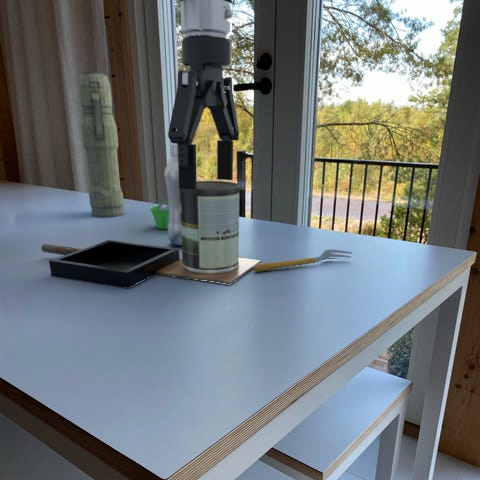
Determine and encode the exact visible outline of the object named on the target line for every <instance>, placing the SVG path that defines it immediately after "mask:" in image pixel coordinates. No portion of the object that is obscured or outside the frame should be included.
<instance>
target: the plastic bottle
mask: <svg viewBox="0 0 480 480" xmlns="http://www.w3.org/2000/svg"><path fill="white" fill-rule="evenodd" d="M169 156H171V157H170V159H169V161H168V162H167V164H166V166H165V168H164V171H163V172H164V173H163V174H164V175H163V176H164V179H165V180H164V181H165V187H166V191H167V192H168V195H167V200H168V202H169V224H168V229H167V237H168V240H169V242H170V243H171V244H172V245H174V246H181V247H182V234H181V211H180V190H179V169H178V145H177V144H170V145H169Z"/></svg>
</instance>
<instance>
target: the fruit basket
mask: <svg viewBox="0 0 480 480" xmlns="http://www.w3.org/2000/svg"><path fill="white" fill-rule="evenodd" d="M166 195H167V196H168V192H167V194H166ZM149 210H150V212H151V213H152V216H153V218H154V222H155V225H156V228H157V229H158V230H168V224H169V201H164V202H161V203H160V204H157V205H154V206H152V207H150V208H149Z"/></svg>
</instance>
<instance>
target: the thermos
mask: <svg viewBox="0 0 480 480" xmlns="http://www.w3.org/2000/svg"><path fill="white" fill-rule="evenodd" d="M78 85H79V86H78V88H79V97H80V104H81V107H82V114H81V115H82V121H81V134H82V143H83V148H84V150H85V153H86V163H87V171H88V179H89V180H88V181H89V192H88V198H89V206H90V207H91V216H92V217H94V218H116V217H121V216H124V215H125V211H124V205H125V203H124V193H123V190H122V187H121V181H120V170H119V159H118V149H119V137H118V126H117V124H116V121H115V119H114V113H113V97H112V87H111V84H110V81H109V79H108V76H107V75H106V74H104V72H97V71H84V72H83V73H82V74H80V79H79V84H78Z"/></svg>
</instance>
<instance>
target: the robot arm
mask: <svg viewBox="0 0 480 480" xmlns="http://www.w3.org/2000/svg"><path fill="white" fill-rule="evenodd" d="M232 4H233V0H180V33H181V34H182V35H183V36H184V37H183V38H182V40H181V63H182V65H183V67H185V68H188V69H179V70H178V71H177V88H176V92H175V97H174V102H173V108H172V113H171V117H170V122H169V127H168V131H167V137H168V139H169V140H170V143H171V144H174V145H178V169H179V188H181V189H193V190H195V189H197V181H198V180H197V179H198V177H197V144H193V142H194V139H195V136H196V133H197V131H198V128H199V125H200V122H201V119H202V116H203V113H204V110H205V109H206V108H207V109H208V110H209V111H210V113H211V116H212V120H213V123H214V126H215V128H216V132H217V134H218V137H219V140H217V141H216V149H217V150H216V154H217V155H216V156H217V157H216V167H217V168H216V172H217V173H216V176H217V177H216V179H217V180H221V181H233V179H234V176H233V175H234V142H235V141H236V142H237V141H239V140H240V129H239V128H240V127H239V122H238V117H237V116H238V115H237V111H236V105H235V98H234V93H233V78H232V77H231V76H224V75H223V74H224V73H223V70H224V69H229V68H230V67H231V66H232V49H233V48H232V41H231V40H230V39H229V38H228V37H230V36H231V35H232V18H233V17H234V16H235V12H234V10H233V9H232V8H233V7H232Z"/></svg>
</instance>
